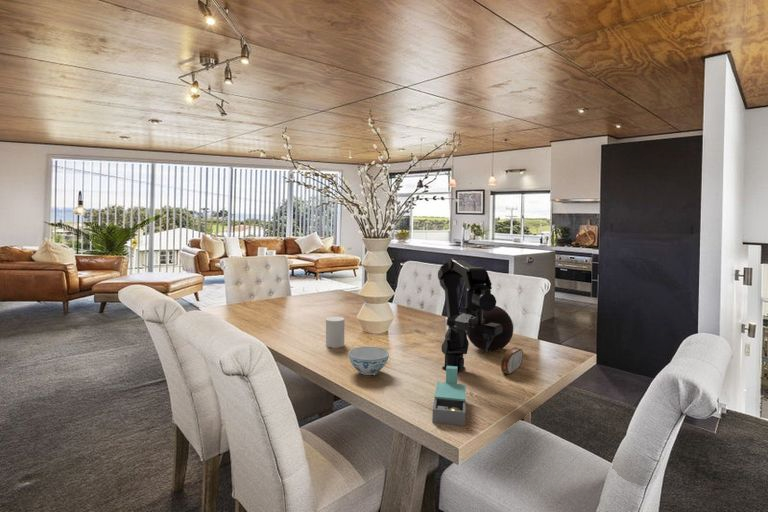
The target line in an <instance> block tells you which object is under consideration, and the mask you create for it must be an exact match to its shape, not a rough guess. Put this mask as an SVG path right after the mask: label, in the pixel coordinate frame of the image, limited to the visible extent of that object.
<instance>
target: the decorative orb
mask: <svg viewBox="0 0 768 512" xmlns="http://www.w3.org/2000/svg"><path fill="white" fill-rule="evenodd" d="M483 319H485V320H484V322H483V323H482V324H489V323H497V324H501V326H502V328H503V331H502V333H500V334H498V335H496V336H495V337H494V338H493V340H492V342H491V344H490V346H489V348H488V350H487V352H496V351H500V350H502V349H504V348H505V347H507V345H508V344H509V343H510V342H511V340H512V338H513V336H514V335H513V334H514V324H513V321H512V317H511V316H510V315H509V314H508V312H507V311H506V310H505V309H503V308H502V307H500V306H498V305H495V307H494V308H493V309H492V310H491V311H483ZM477 326H478V325H477ZM466 332H467V339H468V341H470V343H471V344H472V345H474V347H475V348H477V349H479V350H480V351H483V347H484V337H483V334H485V333H484V331H483V330H482V329H478V328H473V327H471V328H470V330H468V331H466Z"/></svg>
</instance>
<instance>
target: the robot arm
mask: <svg viewBox="0 0 768 512" xmlns="http://www.w3.org/2000/svg"><path fill="white" fill-rule="evenodd" d="M461 278H462V281H463V283H465V287H464V290H466V292H465V293H466V295H465V306H464V307H463V309H462V313H461V314H460V307H459V297H458V296H459V295H458V288H459V286H460V285H461V284H460V283H461ZM437 280H438V281H439V285H440V287H441V288H442V289H443V290H444V296H445V304H446V305H445V306H446V316H447V318H446V326H447V327H448V329H447V330H446V332H445V335H444V340H443V342H442V344H441V352H442V354H444V366H442V368H441V369H443V370H446V367H447V366H457V367H458V369H457V373H458V372H461V371H463V370H464V369H466V367H465V364H464V363H465V357H464V355H467V353H468V350H469V345H470V343H469V338H468V336H467V332H466V331H468V330H470V328H471V327H473V328H478V329H482V330H483V331H484V333H485V334H483V337H484V347H483V350H482V351H483V354H486V353H487V352H488V351H487V350H488V348H489V346H490V344H491V342H492V340H493V338H494V337H495V336H496V335H498V334H500V333H502V331H503V328H502V326H501V324H497V323H489V324H482V323H483V322H484V320H485V319H483V311H491V310H492V309H493V308H494V307H495V306H497V298H496V296H495V295H494V294H492V288H493V287H492V281H491V278H490V276H489V273H488V271H487V270H486V268H485V267H482V266H473V265H471V264H470V263H468V262H467V261H465V260H463V258H460V257H459V258H457V257H455V258H454V257H453V258H450V259H448V261H447V262H446V263H444V264H443V265H440V268H439V269H438V271H437ZM477 325H478V326H477Z"/></svg>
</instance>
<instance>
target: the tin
mask: <svg viewBox="0 0 768 512" xmlns="http://www.w3.org/2000/svg"><path fill="white" fill-rule="evenodd" d="M523 355H524V351H523V349H522V348H520V347H517V346H514V347H512V348H510V349H508V350H506V351H505V352H504V354H503V356H502V359H501V362H500V363H501V364H500V369H501V373H503V374H506V375H511V374H512V373H514V372H516V371H517V370H519V369H520V368H521V365H522V363H523Z"/></svg>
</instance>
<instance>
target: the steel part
mask: <svg viewBox="0 0 768 512" xmlns="http://www.w3.org/2000/svg"><path fill="white" fill-rule="evenodd" d="M437 409H447V410H448V407H446V406H438V407H437Z"/></svg>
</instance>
